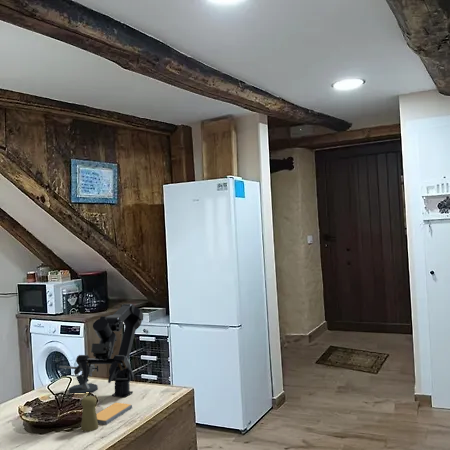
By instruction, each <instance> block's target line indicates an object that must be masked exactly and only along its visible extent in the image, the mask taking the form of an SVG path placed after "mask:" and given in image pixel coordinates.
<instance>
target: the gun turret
mask: <svg viewBox="0 0 450 450" xmlns="http://www.w3.org/2000/svg"><path fill="white" fill-rule="evenodd" d="M89 368H90V372H89V376H88V377H93V372H94V371H95V370H96V372H99V365H96V367H95V364H91V366H90V367H89ZM58 369H69V370H73V373H74V375H75V376H76V375H77V376H76V380H77V383H78V384H75V385H72V386H70V387H69V388H68V394H70V393H86V392H89V394H93V393H95V392H96V391H98V390H99V387H98V384H94V383H88V382H89V381H90V380H89V378H88V379H87V381H86V383H85V382H84V375H83V370H82V368H80V367H79V365H78V364H77V366H69V365H68V366H67V365H59V366H58ZM80 373H81V374H80Z"/></svg>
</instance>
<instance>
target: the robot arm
mask: <svg viewBox="0 0 450 450" xmlns="http://www.w3.org/2000/svg"><path fill="white" fill-rule="evenodd" d="M143 321H144V313H143V311H142V310H141V309H140V308H138V307H137V306H135V304H133V303H123V304H121V306H120V308H118V309H117V311H116V312H114V314H110V315H107V316H105V315H103V316H100V318H99V319H96V320H95V321H94V322H93V323H92V328H93V330H94V332H95V334H96V336H97V337H98V338H99V339H100V340H99V343H91V349H90V350H91V351H90V352H91V353H93V354H92V355H93V357H94V358H90V356H89V355H88V354H79V355H78V356H77V357H76V359H75V362H76V365H77V366H78V365H79V367H80V368H82V370H83V375H84V382H85V383H86V381H87V379H88V380H89V377H90V376H89V372H90V368H89V367H90V366H91V365H94V364H96V365H110V367H109V369H108V374H109V375H108V380H107V383H108V384H111V382H114V393H112V394H111V396H112V397H116V398H117V397H118V398H126V397H128V396H131V394H133V393H134V391H133V390H132V391H131V389H130V382H132V381H134V377H135V376H134V374H135V373H134V371H133V369H132V366H131V362H130V356H131V352H132V348H133V343H134V339H135V336H136V335H135V334H136V331H137V329H139V328H140V326H141V324H142V322H143ZM124 325H125V326H124ZM123 326H124V330H123V335H122V338H121V343H120V346H119V350H118V354H116V355H114V356H113V354H114V346H115V343H116V342H117V341H118V340H117V334H116V333H115V332H118V333H119V332H121V329H123ZM112 356H113V358H112Z"/></svg>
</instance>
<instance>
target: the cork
mask: <svg viewBox="0 0 450 450" xmlns="http://www.w3.org/2000/svg"><path fill="white" fill-rule="evenodd" d="M80 404H81V407H82V416H81V424H80V425H81V426H80V430H81V431H82V432H86V433H87V432H89V433H90V432H94V431H96V430H97V429H99V423H98V421H97V415H96V414H97V410H96V405H97V398H96V397H95V396H93V395H87V396H85V397H83V398H82V399H81V403H80Z"/></svg>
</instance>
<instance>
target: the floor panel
mask: <svg viewBox="0 0 450 450" xmlns="http://www.w3.org/2000/svg"><path fill="white" fill-rule="evenodd" d="M131 409H133V405H132V404H131V403H122V402H113V403H112V404H110V405H109V406H107V407H106V408H104V409H102V410H100V411H98V412H96V415H97V421H98V425H106V426H107V425H108V424H110V423H111V422H113V421H115V420H116V419H117V418H120V416H122V415H124V414H125V413H127V412H129V411H131ZM114 419H115V420H114Z"/></svg>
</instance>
